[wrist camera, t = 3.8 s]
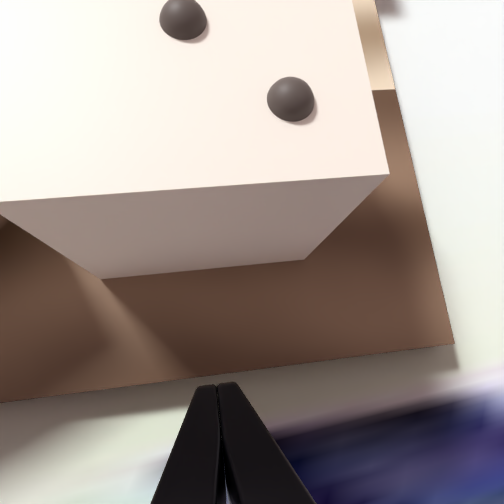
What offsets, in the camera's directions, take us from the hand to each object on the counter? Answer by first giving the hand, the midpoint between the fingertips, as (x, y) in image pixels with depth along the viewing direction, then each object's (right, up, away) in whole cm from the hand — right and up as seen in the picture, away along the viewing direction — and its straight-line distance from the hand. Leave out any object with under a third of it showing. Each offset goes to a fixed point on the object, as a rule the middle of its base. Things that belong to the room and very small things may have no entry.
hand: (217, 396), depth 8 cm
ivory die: (-1, +6, +7) cm, 9 cm away
